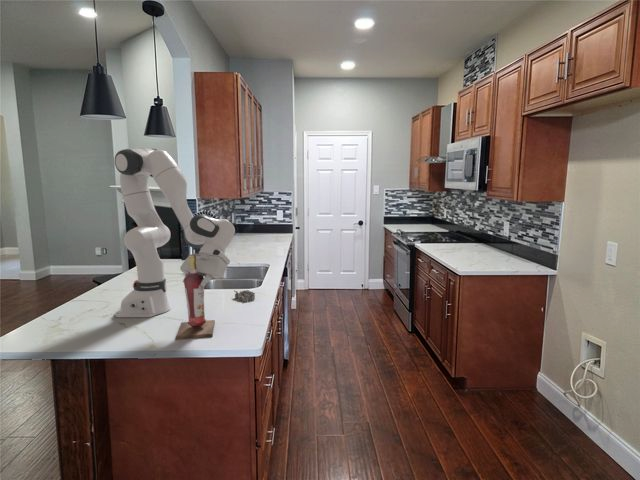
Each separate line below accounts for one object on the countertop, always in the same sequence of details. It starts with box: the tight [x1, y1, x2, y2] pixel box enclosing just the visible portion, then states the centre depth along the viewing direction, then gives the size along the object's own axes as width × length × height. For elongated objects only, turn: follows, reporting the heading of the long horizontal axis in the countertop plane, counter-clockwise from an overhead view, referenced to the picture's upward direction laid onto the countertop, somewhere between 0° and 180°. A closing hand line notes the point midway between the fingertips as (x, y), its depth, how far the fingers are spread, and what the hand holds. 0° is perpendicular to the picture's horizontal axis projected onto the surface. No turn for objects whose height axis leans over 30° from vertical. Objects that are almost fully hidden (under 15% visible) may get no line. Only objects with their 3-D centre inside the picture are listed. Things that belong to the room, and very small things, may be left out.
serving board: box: [175, 319, 216, 340], centre depth 153 cm, size 13×15×1 cm
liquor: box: [183, 253, 207, 327], centre depth 151 cm, size 7×7×28 cm
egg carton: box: [233, 289, 256, 302], centre depth 196 cm, size 11×8×4 cm
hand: (193, 284), depth 150 cm, fingers closed on liquor, 7 cm apart
